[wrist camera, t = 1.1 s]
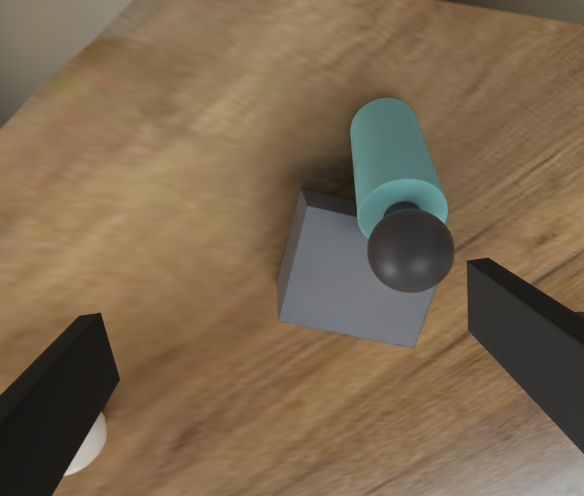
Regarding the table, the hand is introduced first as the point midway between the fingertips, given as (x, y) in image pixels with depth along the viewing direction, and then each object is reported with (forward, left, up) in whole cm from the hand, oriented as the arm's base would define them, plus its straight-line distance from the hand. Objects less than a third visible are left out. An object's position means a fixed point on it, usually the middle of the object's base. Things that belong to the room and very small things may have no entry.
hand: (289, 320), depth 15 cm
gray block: (+4, +8, -27) cm, 29 cm away
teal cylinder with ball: (-5, +8, -27) cm, 29 cm away
